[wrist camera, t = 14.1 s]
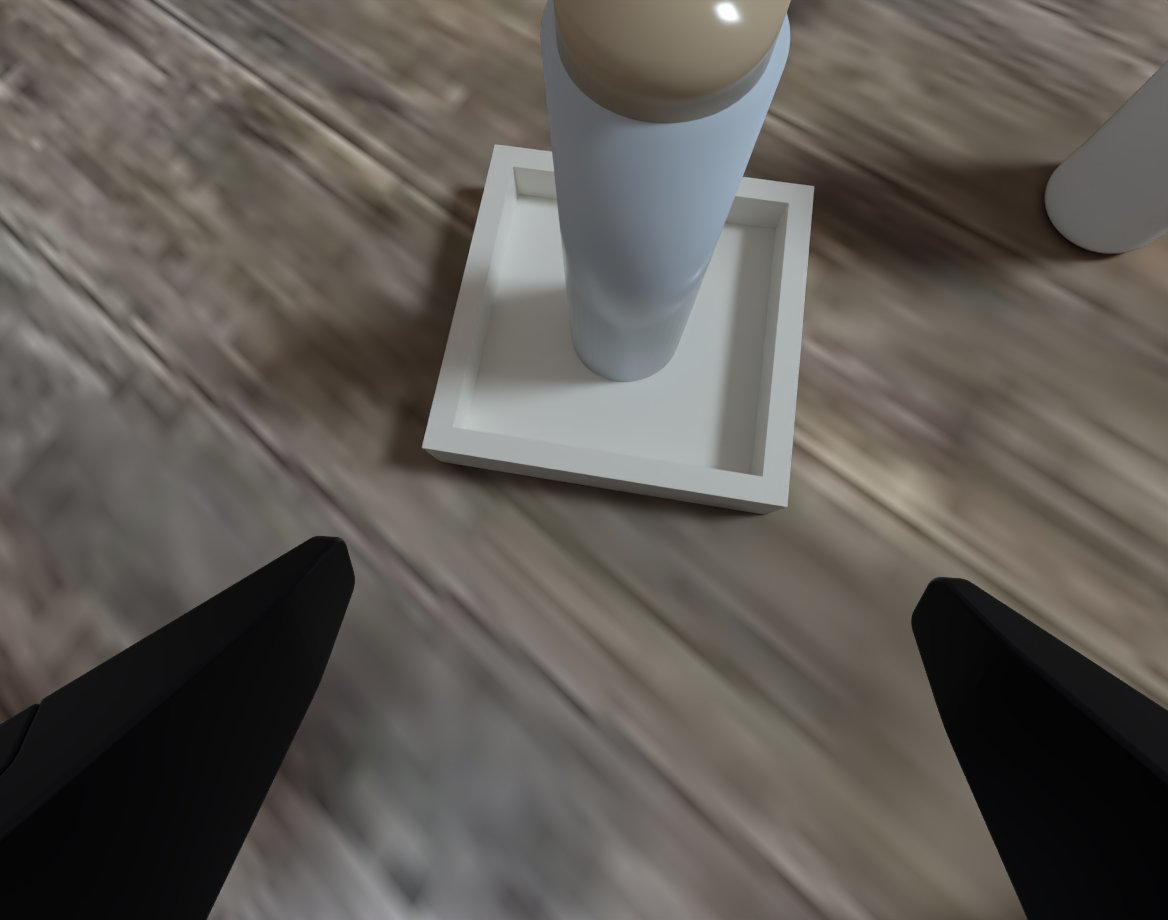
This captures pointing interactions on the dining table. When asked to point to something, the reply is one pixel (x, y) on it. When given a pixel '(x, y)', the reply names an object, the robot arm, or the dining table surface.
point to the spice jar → (650, 157)
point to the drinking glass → (1117, 177)
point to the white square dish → (637, 408)
